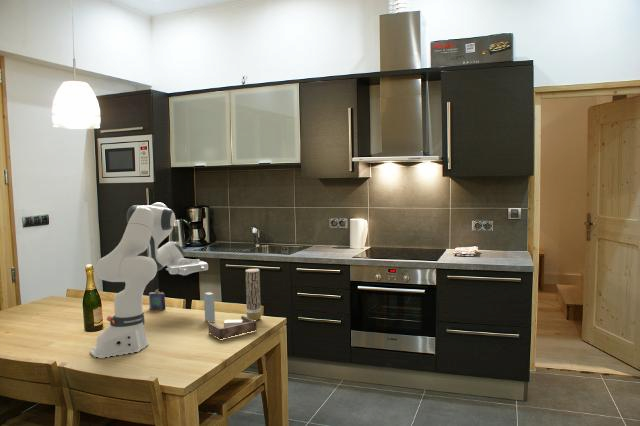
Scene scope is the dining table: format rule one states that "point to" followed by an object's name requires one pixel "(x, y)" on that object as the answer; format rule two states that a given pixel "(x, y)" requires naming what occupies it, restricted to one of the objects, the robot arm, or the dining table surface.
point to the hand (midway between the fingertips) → (194, 270)
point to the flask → (157, 300)
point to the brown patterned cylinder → (253, 294)
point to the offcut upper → (232, 322)
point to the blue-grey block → (209, 306)
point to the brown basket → (233, 328)
